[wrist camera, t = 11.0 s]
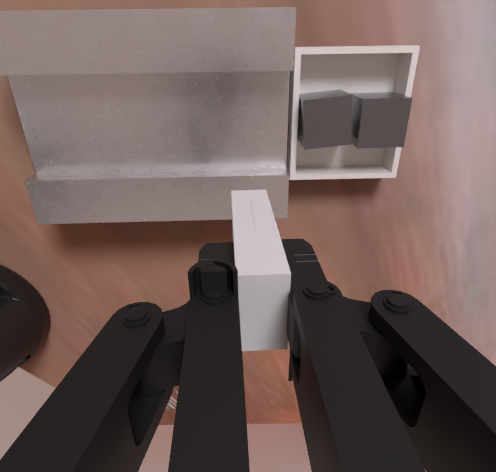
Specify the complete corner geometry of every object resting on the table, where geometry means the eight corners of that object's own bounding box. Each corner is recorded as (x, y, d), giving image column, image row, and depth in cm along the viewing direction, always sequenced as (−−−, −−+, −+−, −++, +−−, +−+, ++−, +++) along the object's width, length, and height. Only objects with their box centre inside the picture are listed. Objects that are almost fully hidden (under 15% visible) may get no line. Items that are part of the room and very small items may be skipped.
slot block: (280, 193, 38) (287, 218, 33) (65, 198, 37) (37, 224, 32) (285, 13, 30) (296, 7, 25) (18, 16, 30) (-29, 11, 25)
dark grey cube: (344, 137, 35) (386, 136, 35) (357, 148, 31) (403, 147, 32) (349, 93, 33) (393, 92, 33) (363, 99, 30) (412, 97, 30)
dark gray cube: (339, 134, 35) (351, 144, 31) (297, 138, 35) (304, 149, 31) (339, 89, 33) (352, 94, 29) (295, 94, 33) (302, 100, 29)
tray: (384, 167, 37) (395, 177, 34) (285, 170, 37) (289, 180, 34) (404, 45, 32) (420, 45, 29) (290, 47, 32) (295, 47, 29)
